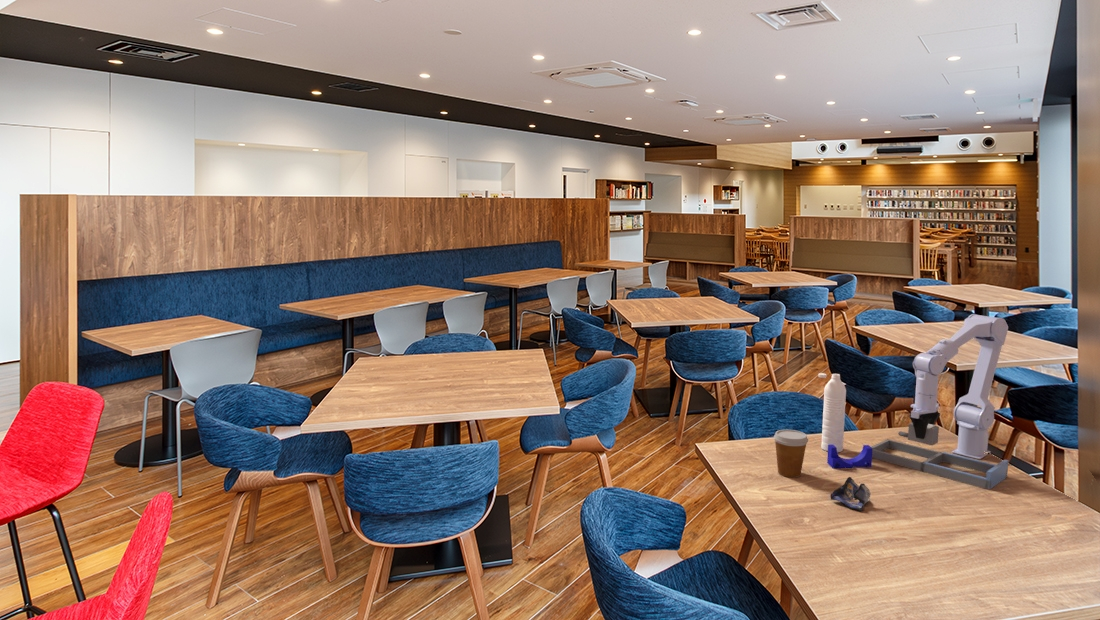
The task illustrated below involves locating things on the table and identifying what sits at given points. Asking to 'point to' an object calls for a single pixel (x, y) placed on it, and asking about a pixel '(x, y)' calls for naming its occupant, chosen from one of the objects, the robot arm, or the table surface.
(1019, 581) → the table surface
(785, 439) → the disposable coffee cup
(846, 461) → the blue pipe cradle
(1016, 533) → the table surface
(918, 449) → the grey divided rectangular frame
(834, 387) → the water bottle
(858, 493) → the snack package
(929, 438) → the cord plug
